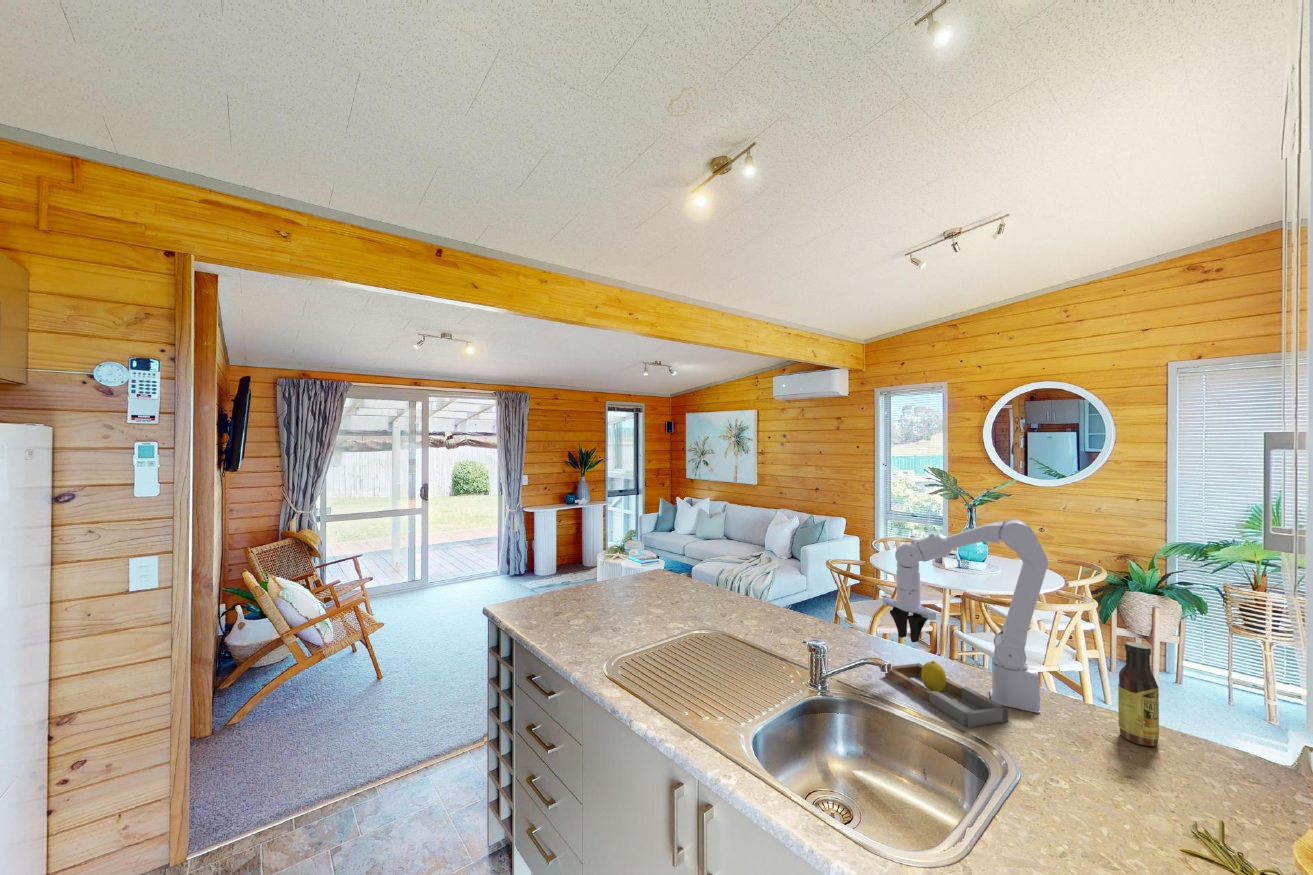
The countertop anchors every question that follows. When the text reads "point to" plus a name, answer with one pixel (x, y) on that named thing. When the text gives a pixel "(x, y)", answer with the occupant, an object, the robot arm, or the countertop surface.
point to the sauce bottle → (1138, 697)
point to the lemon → (933, 676)
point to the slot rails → (901, 678)
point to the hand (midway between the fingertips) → (908, 639)
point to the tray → (970, 708)
